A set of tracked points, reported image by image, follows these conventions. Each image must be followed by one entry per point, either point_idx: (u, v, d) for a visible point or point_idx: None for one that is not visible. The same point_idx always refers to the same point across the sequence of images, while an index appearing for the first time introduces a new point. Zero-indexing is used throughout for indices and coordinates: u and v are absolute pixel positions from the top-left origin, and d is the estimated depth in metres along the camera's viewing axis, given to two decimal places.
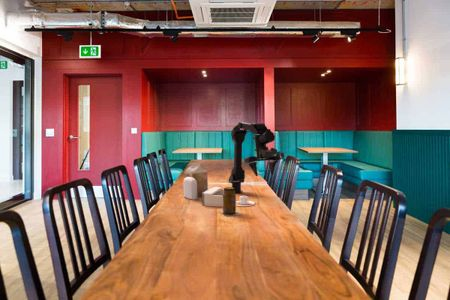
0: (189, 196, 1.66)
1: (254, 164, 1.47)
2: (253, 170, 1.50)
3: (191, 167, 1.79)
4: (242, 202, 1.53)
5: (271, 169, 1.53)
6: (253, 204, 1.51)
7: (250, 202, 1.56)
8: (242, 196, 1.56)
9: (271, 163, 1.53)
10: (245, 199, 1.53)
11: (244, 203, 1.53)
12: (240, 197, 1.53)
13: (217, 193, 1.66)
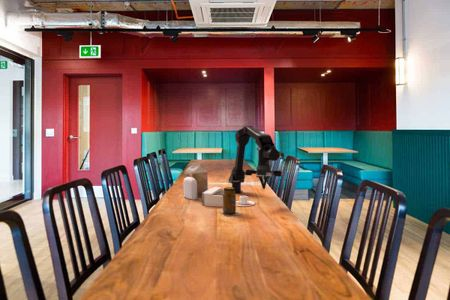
0: (189, 196, 1.66)
1: (259, 178, 1.49)
2: None
3: (191, 167, 1.79)
4: (242, 202, 1.53)
5: None
6: (253, 204, 1.51)
7: (250, 202, 1.56)
8: (242, 196, 1.56)
9: None
10: (245, 199, 1.53)
11: (244, 203, 1.53)
12: (240, 197, 1.53)
13: (217, 193, 1.66)
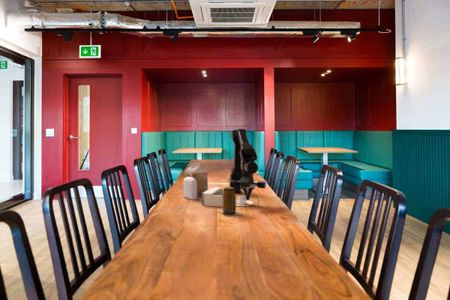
0: (189, 196, 1.66)
1: (243, 189, 1.52)
2: None
3: (191, 167, 1.79)
4: (240, 202, 1.53)
5: None
6: (251, 204, 1.52)
7: (248, 202, 1.57)
8: (240, 196, 1.56)
9: None
10: (243, 199, 1.53)
11: (242, 203, 1.53)
12: (238, 197, 1.53)
13: (217, 193, 1.66)
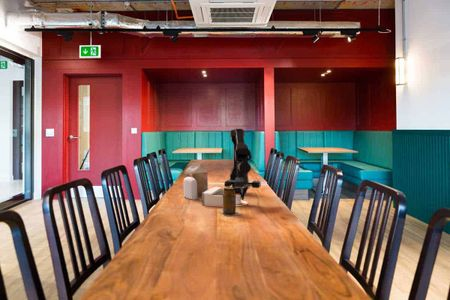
0: (189, 196, 1.66)
1: (238, 189, 1.53)
2: None
3: (191, 167, 1.79)
4: None
5: None
6: None
7: (243, 202, 1.57)
8: None
9: None
10: (238, 199, 1.53)
11: (237, 203, 1.53)
12: None
13: (217, 193, 1.66)
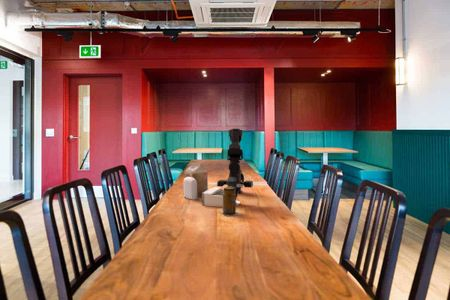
0: (189, 196, 1.66)
1: None
2: None
3: (191, 167, 1.79)
4: None
5: None
6: (239, 203, 1.53)
7: (236, 201, 1.58)
8: None
9: None
10: None
11: None
12: None
13: (217, 193, 1.66)
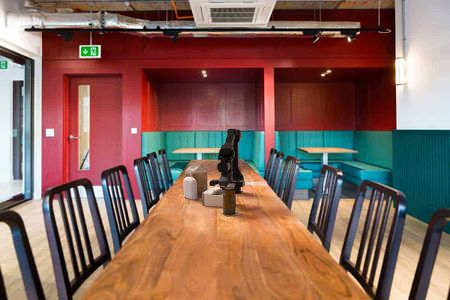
0: (189, 196, 1.66)
1: (222, 188, 1.55)
2: None
3: (191, 167, 1.79)
4: None
5: None
6: None
7: None
8: (220, 195, 1.59)
9: None
10: None
11: None
12: None
13: (217, 193, 1.66)
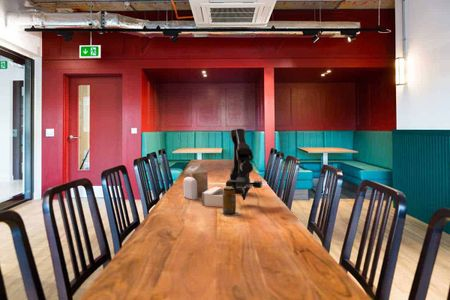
0: (189, 196, 1.66)
1: (239, 189, 1.52)
2: None
3: (191, 167, 1.79)
4: None
5: None
6: None
7: None
8: (219, 195, 1.59)
9: None
10: None
11: None
12: None
13: (217, 193, 1.66)
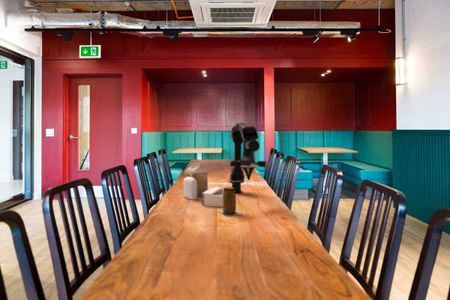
0: (189, 196, 1.66)
1: (244, 169, 1.51)
2: None
3: (191, 167, 1.79)
4: None
5: None
6: None
7: None
8: (219, 195, 1.59)
9: None
10: None
11: None
12: None
13: (217, 193, 1.66)
